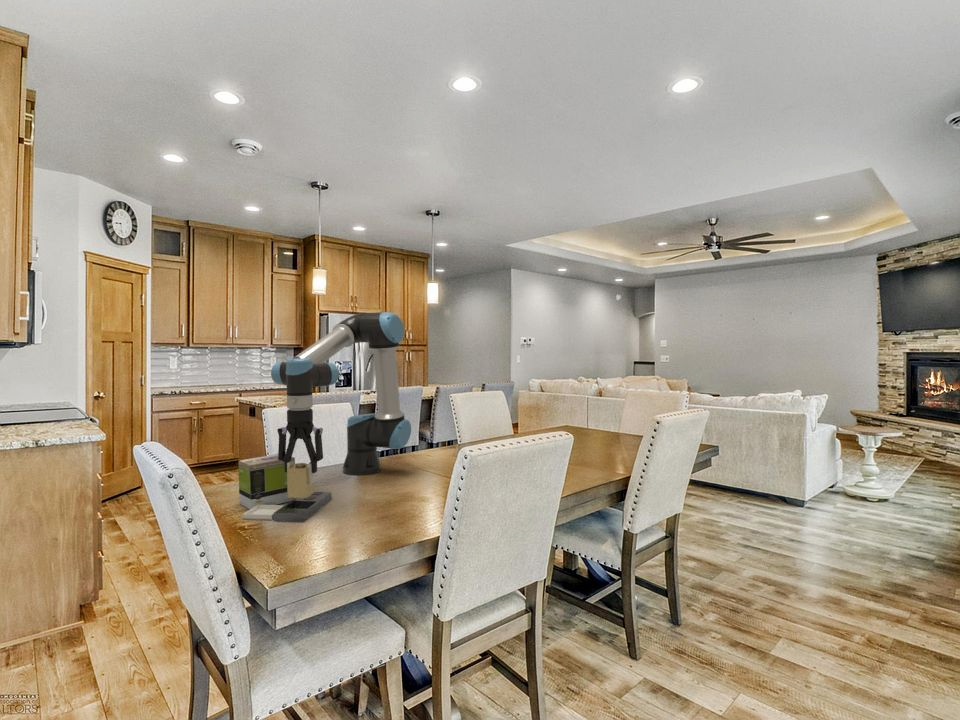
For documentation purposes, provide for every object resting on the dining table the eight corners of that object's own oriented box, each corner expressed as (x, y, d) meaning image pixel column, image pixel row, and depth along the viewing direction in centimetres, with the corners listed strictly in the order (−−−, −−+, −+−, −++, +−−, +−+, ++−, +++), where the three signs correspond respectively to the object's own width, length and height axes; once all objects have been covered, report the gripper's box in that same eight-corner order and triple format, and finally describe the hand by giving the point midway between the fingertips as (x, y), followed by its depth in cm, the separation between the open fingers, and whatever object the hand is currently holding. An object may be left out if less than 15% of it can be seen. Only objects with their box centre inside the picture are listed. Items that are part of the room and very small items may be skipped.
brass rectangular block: (296, 491, 165) (295, 461, 164) (314, 492, 164) (314, 462, 164) (287, 497, 159) (287, 466, 158) (306, 498, 158) (306, 466, 158)
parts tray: (258, 509, 164) (258, 504, 164) (285, 510, 163) (285, 505, 163) (242, 519, 155) (242, 514, 155) (271, 520, 154) (271, 515, 154)
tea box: (283, 494, 180) (283, 452, 180) (296, 501, 173) (296, 457, 172) (238, 504, 170) (237, 459, 169) (250, 511, 162) (249, 464, 162)
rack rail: (305, 498, 175) (305, 491, 175) (331, 499, 175) (331, 491, 175) (274, 521, 154) (274, 512, 153) (303, 522, 153) (303, 513, 153)
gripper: (264, 410, 157) (265, 485, 158) (325, 410, 155) (326, 487, 157) (276, 406, 165) (277, 478, 166) (334, 407, 163) (335, 480, 164)
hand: (301, 482), depth 161 cm, fingers closed on brass rectangular block, 6 cm apart
